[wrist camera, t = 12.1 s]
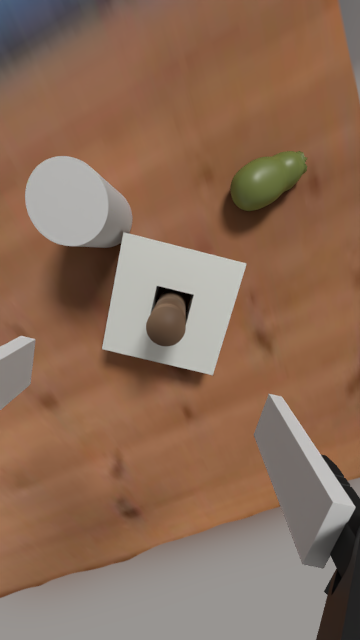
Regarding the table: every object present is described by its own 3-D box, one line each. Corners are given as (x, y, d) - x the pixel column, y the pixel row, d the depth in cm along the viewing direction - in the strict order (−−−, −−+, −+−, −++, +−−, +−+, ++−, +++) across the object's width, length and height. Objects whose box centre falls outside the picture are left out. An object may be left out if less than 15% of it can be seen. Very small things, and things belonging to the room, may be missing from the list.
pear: (231, 167, 31) (306, 129, 31) (218, 183, 36) (283, 150, 36) (250, 213, 32) (322, 176, 32) (235, 222, 37) (298, 189, 37)
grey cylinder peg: (118, 176, 36) (86, 141, 25) (141, 235, 38) (121, 228, 26) (64, 199, 37) (9, 176, 25) (90, 256, 39) (49, 257, 27)
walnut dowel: (156, 311, 41) (142, 341, 27) (162, 286, 40) (150, 304, 26) (181, 317, 41) (180, 350, 27) (188, 292, 40) (189, 313, 26)
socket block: (111, 337, 42) (102, 349, 37) (131, 234, 38) (123, 232, 33) (209, 361, 43) (212, 375, 38) (238, 262, 39) (246, 263, 34)
